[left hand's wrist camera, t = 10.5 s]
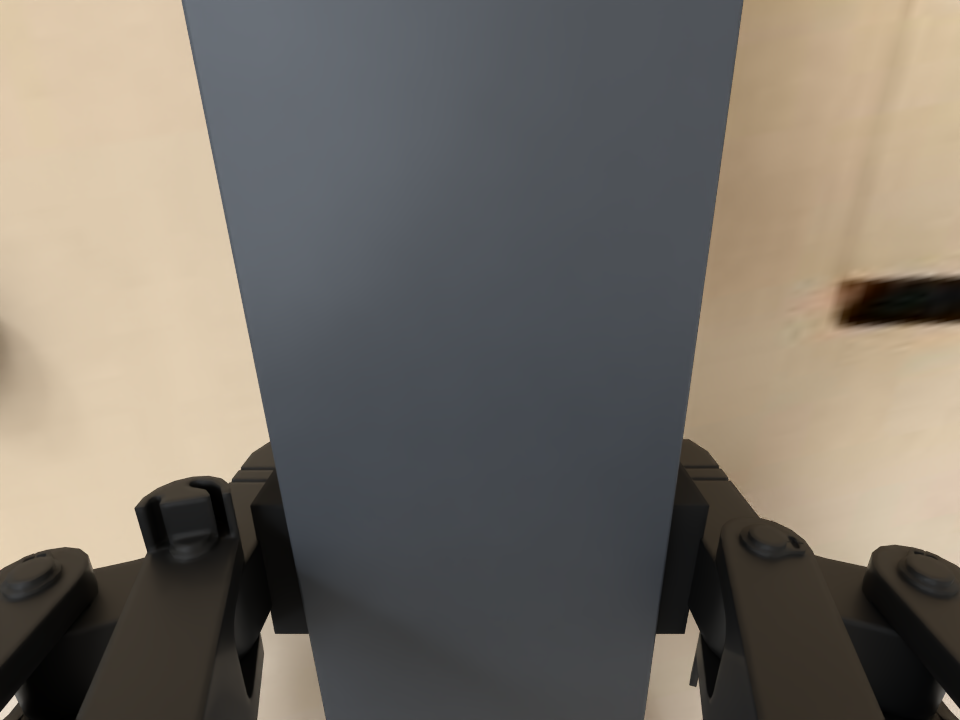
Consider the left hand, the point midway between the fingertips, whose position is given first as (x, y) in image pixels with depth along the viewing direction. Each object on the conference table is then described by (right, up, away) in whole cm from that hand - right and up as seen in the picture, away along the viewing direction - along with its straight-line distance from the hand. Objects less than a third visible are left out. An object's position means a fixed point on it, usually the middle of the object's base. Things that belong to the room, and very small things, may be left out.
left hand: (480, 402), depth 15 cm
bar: (-1, +22, -8) cm, 23 cm away
